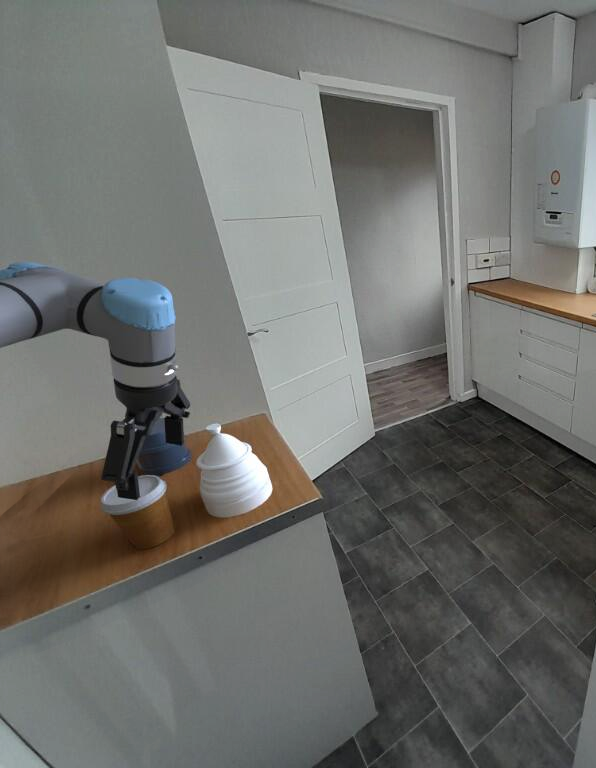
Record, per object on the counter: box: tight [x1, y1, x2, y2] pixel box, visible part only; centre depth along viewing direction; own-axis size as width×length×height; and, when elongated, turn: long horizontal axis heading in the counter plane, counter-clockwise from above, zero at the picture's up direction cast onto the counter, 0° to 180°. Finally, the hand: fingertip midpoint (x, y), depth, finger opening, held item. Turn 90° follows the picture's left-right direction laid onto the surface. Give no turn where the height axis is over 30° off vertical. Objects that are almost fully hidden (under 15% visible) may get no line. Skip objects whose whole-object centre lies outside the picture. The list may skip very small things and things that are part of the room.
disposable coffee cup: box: [99, 474, 176, 550], centre depth 79 cm, size 10×10×12 cm
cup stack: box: [135, 417, 193, 477], centre depth 102 cm, size 10×10×11 cm
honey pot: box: [196, 423, 273, 518], centre depth 89 cm, size 13×13×18 cm
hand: (153, 468), depth 75 cm, fingers open, 13 cm apart
